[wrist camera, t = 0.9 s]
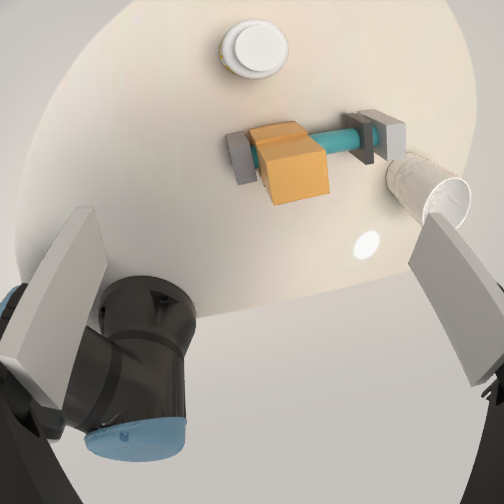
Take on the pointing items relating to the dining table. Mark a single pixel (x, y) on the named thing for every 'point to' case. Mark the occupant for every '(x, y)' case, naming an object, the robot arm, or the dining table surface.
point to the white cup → (428, 189)
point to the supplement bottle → (254, 49)
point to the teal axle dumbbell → (334, 142)
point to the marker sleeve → (290, 162)
